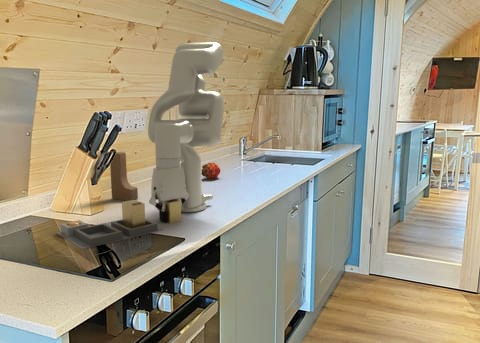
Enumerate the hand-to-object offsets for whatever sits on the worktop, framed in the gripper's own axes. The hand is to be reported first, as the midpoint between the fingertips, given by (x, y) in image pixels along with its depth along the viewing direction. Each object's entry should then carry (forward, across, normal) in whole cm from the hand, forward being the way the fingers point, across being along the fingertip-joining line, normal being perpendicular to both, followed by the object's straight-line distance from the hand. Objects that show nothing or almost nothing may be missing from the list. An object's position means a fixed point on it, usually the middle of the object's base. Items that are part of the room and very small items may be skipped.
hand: (170, 220), depth 142 cm
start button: (0, +27, -8) cm, 28 cm away
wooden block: (+2, -6, -41) cm, 41 cm away
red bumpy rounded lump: (+2, -56, -51) cm, 76 cm away
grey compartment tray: (+1, +19, -2) cm, 19 cm away
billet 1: (0, +13, +1) cm, 13 cm away
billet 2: (+1, 0, 0) cm, 1 cm away
